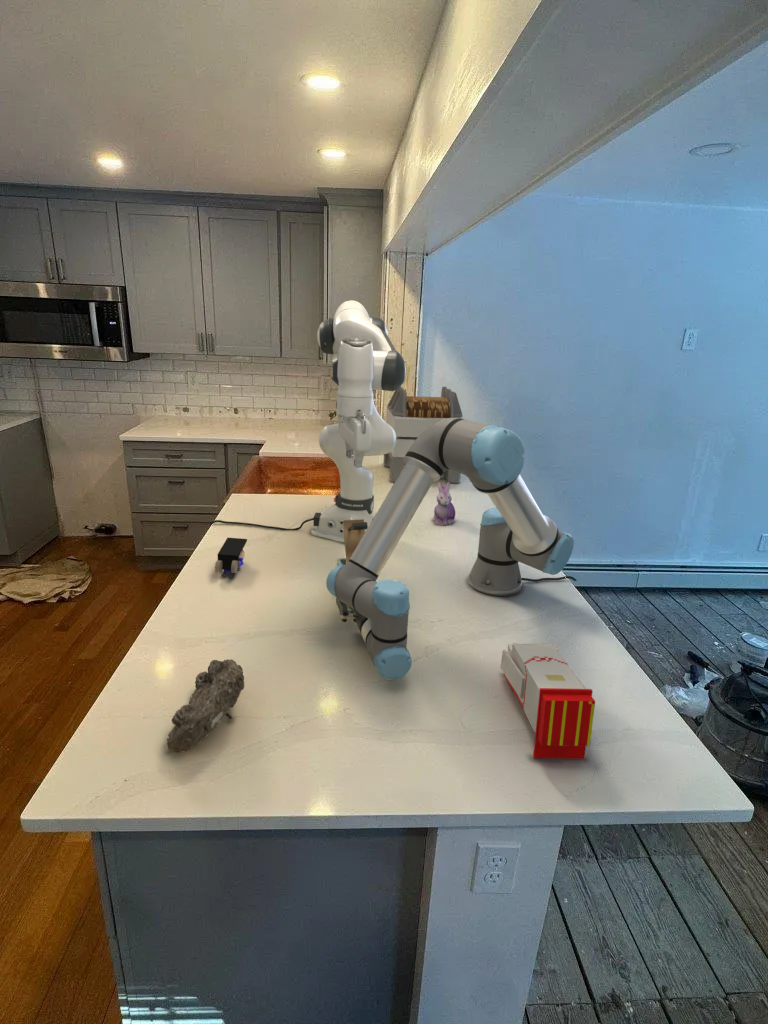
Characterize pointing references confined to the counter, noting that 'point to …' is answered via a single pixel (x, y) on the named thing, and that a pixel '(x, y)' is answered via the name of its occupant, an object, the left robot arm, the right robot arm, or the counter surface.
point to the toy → (550, 699)
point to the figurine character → (230, 556)
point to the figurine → (444, 506)
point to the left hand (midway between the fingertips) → (353, 462)
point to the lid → (353, 535)
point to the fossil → (206, 705)
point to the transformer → (417, 424)
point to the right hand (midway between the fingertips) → (354, 582)
